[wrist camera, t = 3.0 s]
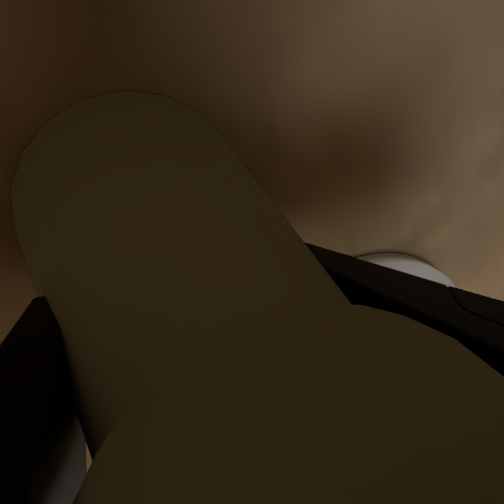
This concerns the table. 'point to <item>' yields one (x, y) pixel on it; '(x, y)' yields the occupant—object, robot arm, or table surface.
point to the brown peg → (231, 333)
